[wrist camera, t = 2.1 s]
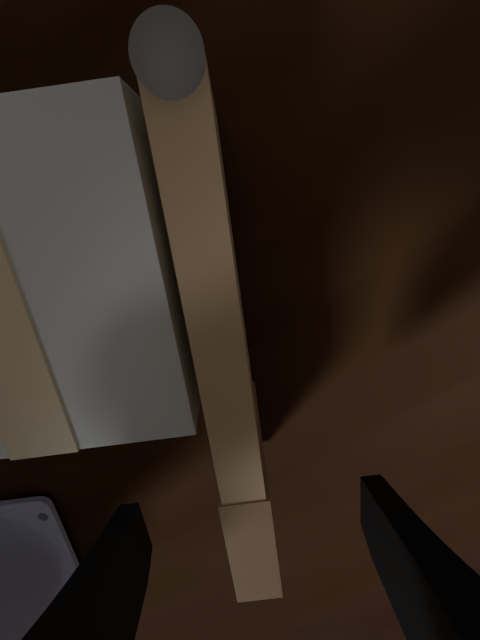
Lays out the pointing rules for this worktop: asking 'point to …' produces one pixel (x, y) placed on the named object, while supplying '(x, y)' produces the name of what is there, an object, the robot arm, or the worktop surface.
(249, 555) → the flap
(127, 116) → the carton
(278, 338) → the worktop surface
